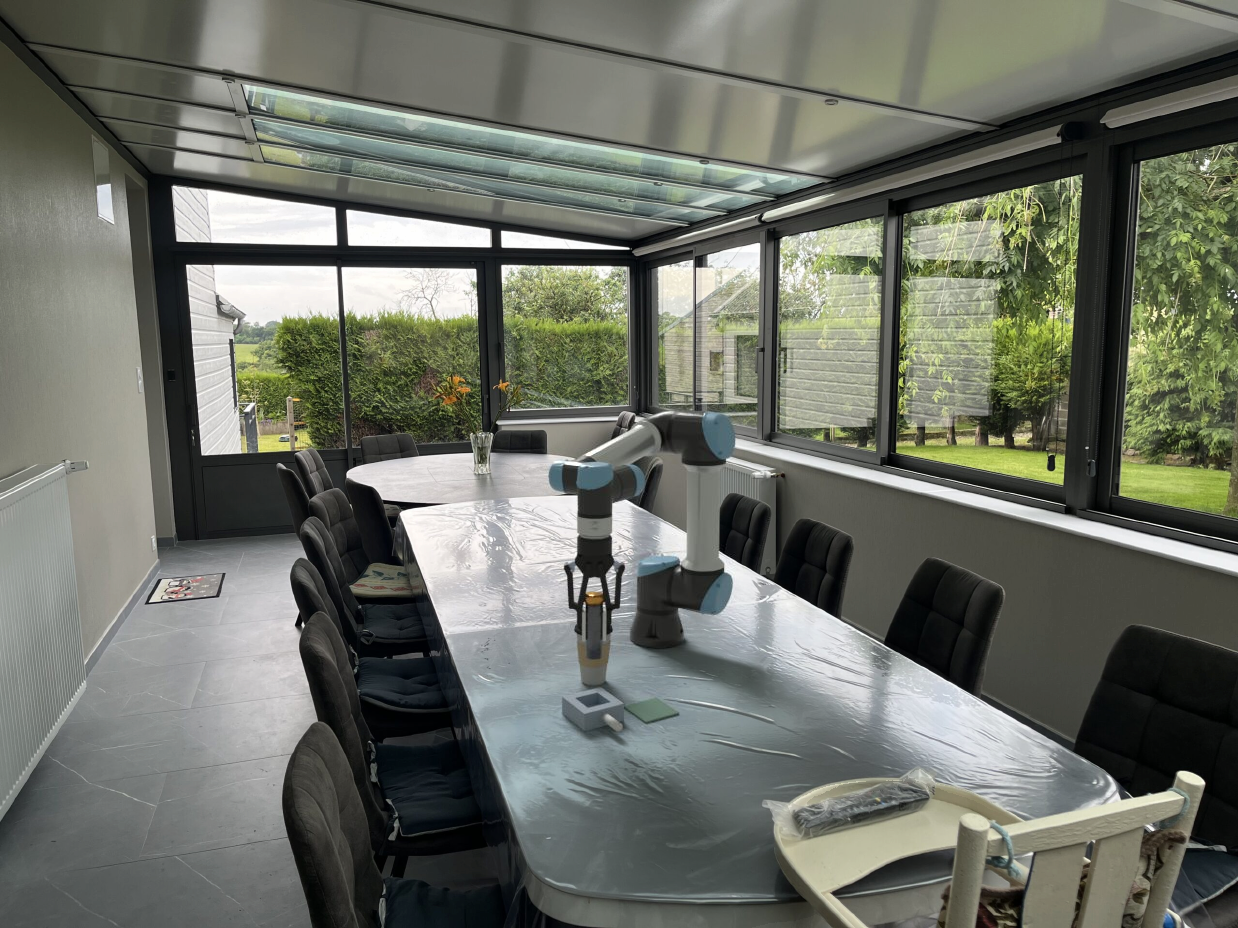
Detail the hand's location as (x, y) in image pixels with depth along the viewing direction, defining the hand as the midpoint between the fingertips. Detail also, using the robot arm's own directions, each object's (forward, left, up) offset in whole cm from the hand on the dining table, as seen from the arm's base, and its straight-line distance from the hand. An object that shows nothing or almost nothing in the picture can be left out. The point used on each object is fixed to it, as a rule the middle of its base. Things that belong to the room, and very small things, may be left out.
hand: (594, 638), depth 182 cm
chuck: (+3, 0, -18) cm, 18 cm away
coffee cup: (-17, +10, -18) cm, 27 cm away
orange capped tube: (0, 0, -4) cm, 4 cm away
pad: (+4, +13, -18) cm, 23 cm away
